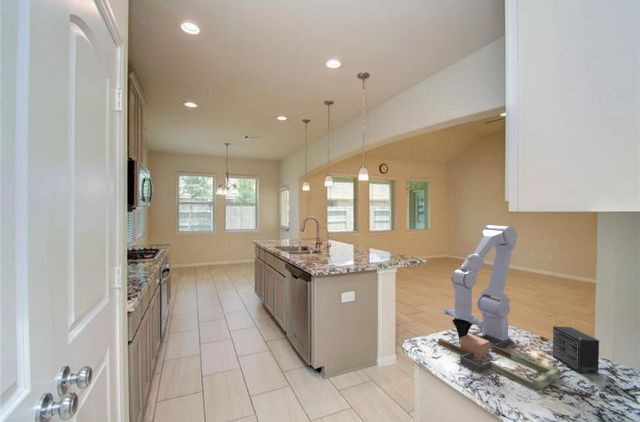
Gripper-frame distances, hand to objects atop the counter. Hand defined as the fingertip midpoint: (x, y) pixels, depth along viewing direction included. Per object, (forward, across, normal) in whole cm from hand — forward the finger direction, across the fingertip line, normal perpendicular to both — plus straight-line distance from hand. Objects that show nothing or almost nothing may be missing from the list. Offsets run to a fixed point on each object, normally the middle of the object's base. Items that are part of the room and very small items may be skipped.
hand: (462, 339), depth 105 cm
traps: (+2, +8, 0) cm, 8 cm away
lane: (+2, +11, 0) cm, 11 cm away
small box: (+2, +26, +20) cm, 33 cm away
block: (+2, +5, 0) cm, 5 cm away
